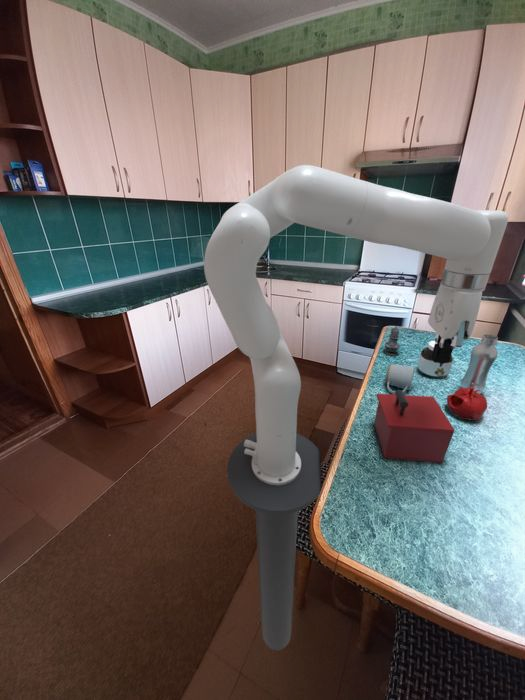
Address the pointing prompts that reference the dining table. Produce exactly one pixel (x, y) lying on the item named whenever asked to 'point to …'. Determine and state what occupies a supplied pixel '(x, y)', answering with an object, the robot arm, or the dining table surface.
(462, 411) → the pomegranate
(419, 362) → the spread jar
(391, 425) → the lid
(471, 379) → the plastic bottle
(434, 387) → the dining table surface
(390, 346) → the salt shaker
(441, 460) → the red lidded box
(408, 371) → the ceramic mug
